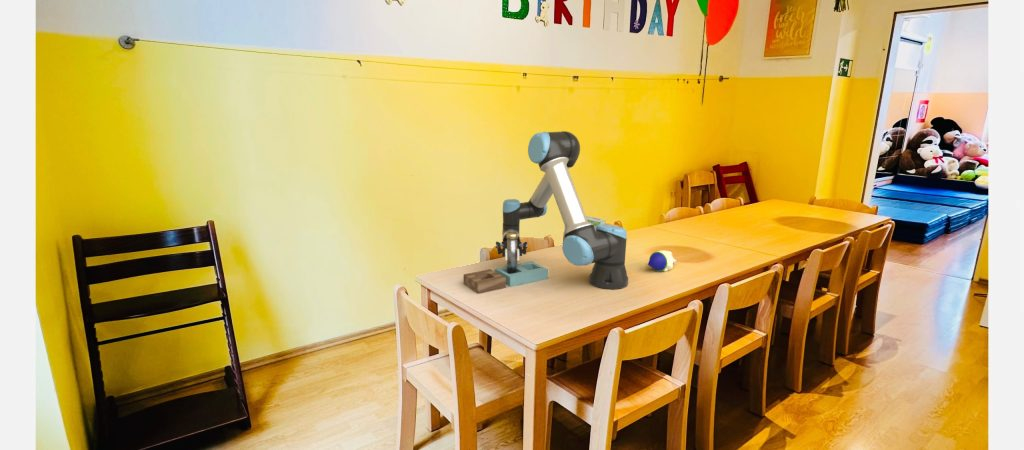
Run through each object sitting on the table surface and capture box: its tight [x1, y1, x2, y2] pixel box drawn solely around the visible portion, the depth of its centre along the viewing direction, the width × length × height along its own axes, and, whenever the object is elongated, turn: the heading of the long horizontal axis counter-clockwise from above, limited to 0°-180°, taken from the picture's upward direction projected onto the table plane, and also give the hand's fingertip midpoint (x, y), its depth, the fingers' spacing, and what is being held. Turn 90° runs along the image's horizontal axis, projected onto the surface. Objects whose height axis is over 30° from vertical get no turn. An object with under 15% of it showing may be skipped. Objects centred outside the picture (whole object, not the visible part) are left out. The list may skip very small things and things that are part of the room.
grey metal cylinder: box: [506, 232, 518, 274], centre depth 197 cm, size 4×4×18 cm
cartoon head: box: [647, 250, 678, 273], centre depth 212 cm, size 9×10×20 cm
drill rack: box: [494, 261, 549, 288], centre depth 202 cm, size 12×18×4 cm, turn 122°
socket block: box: [463, 269, 507, 295], centre depth 193 cm, size 12×12×4 cm
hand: (512, 256), depth 192 cm, fingers closed on grey metal cylinder, 4 cm apart
